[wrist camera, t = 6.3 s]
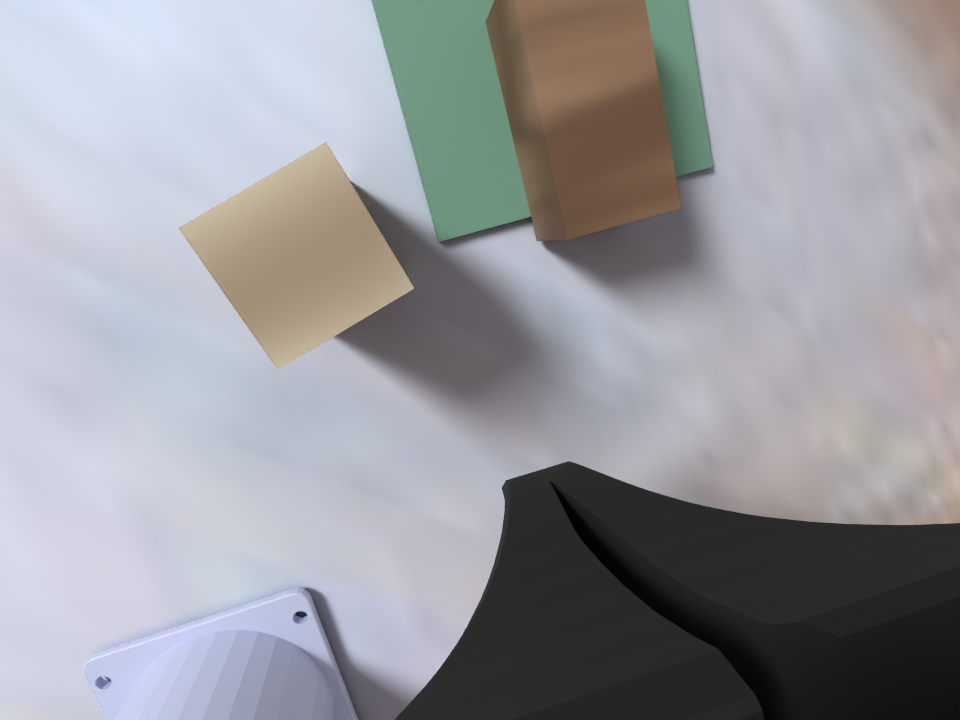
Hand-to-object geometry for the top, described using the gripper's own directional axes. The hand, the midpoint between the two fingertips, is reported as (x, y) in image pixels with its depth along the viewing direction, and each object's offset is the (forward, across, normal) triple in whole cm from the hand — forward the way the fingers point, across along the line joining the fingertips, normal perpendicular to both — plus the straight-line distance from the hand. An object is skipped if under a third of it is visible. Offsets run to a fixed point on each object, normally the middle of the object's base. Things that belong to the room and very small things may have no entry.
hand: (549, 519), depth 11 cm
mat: (+10, -5, -10) cm, 15 cm away
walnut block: (+8, -5, -4) cm, 11 cm away
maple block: (+10, +3, -6) cm, 12 cm away
